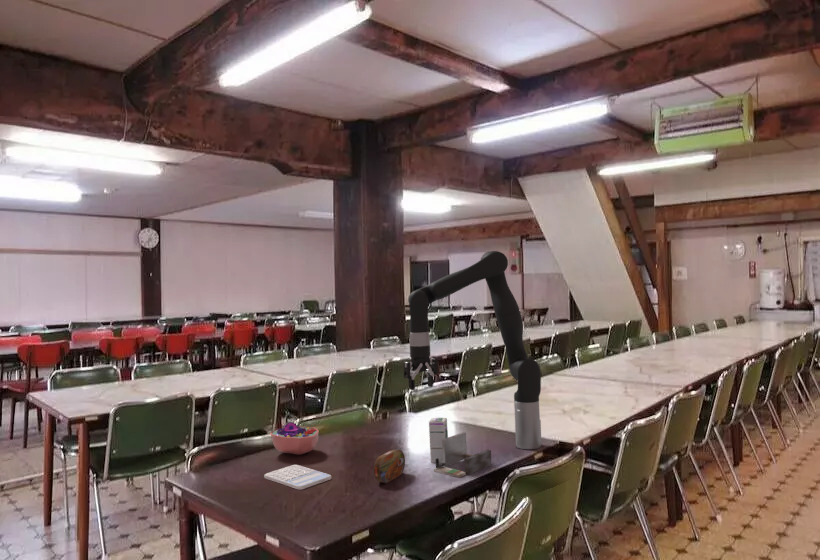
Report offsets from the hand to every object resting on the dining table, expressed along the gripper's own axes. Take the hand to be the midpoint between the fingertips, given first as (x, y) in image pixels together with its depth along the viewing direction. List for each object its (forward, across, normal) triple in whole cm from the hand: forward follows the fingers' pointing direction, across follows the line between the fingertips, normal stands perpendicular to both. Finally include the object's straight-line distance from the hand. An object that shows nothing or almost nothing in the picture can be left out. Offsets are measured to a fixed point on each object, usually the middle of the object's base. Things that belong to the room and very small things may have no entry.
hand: (421, 388), depth 211 cm
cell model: (+24, -35, +34) cm, 54 cm away
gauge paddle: (+23, -2, -18) cm, 29 cm away
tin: (+24, -25, -14) cm, 37 cm away
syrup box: (+24, -1, -10) cm, 26 cm away
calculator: (+25, -47, +8) cm, 54 cm away
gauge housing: (+24, 0, -22) cm, 33 cm away
